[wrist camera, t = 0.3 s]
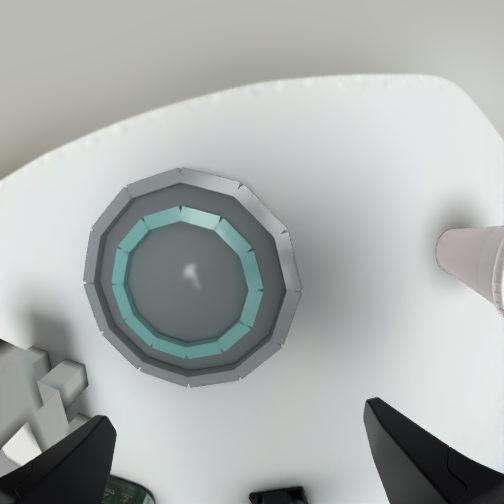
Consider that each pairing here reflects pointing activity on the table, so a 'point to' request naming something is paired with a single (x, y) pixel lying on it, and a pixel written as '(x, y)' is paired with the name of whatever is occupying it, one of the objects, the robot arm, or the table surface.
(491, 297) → the smoothie
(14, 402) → the toy llama
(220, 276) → the tray
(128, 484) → the coffee jar
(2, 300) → the table surface
